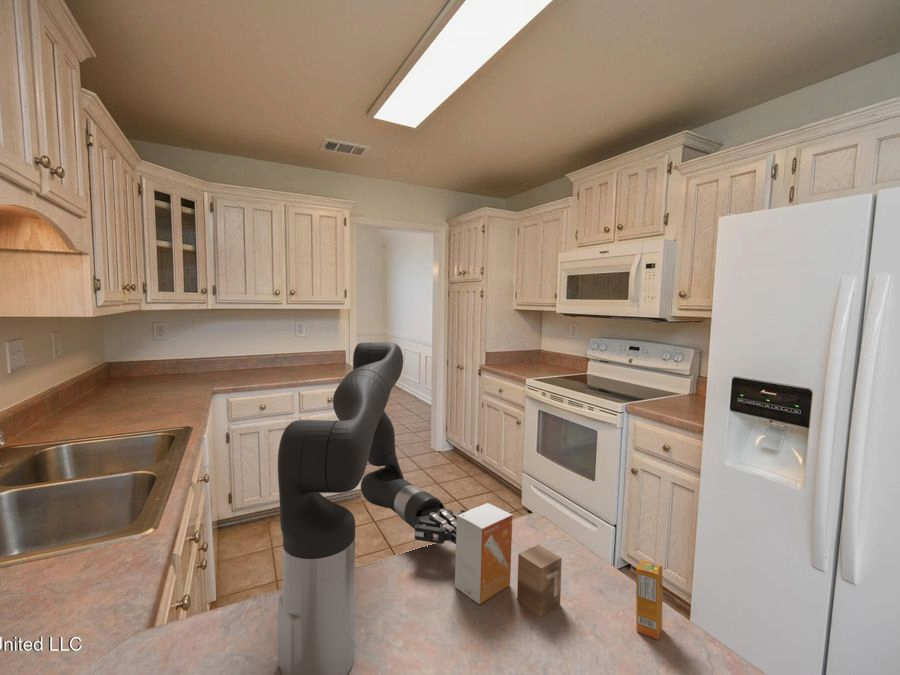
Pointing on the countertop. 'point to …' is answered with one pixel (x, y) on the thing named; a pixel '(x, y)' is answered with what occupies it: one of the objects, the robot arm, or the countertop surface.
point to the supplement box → (649, 599)
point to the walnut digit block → (539, 579)
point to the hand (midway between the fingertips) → (469, 543)
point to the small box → (483, 552)
